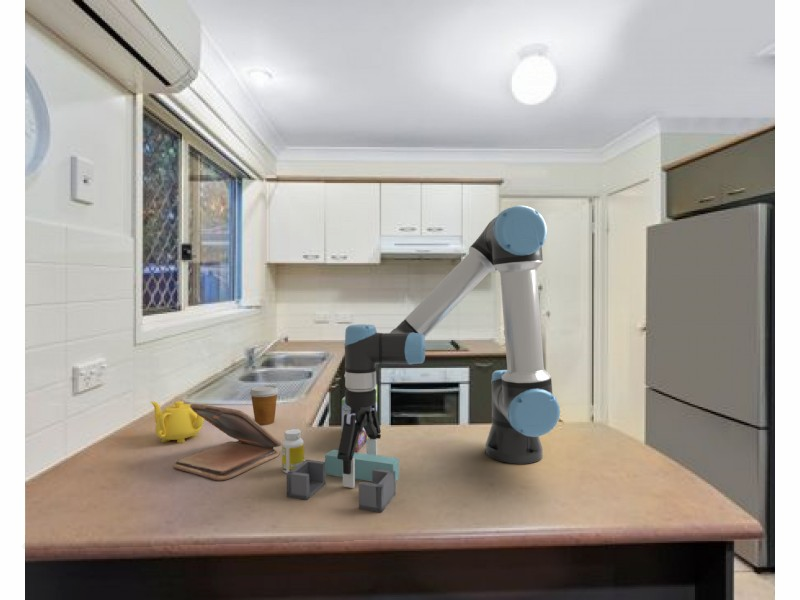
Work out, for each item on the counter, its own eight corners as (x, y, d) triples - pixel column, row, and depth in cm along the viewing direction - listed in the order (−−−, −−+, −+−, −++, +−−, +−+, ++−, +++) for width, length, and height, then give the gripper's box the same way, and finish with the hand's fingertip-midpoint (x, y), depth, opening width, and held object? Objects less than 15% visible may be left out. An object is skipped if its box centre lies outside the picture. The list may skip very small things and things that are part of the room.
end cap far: (325, 483, 103) (325, 461, 103) (306, 500, 95) (306, 476, 95) (306, 481, 105) (306, 459, 104) (286, 496, 97) (286, 473, 97)
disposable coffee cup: (284, 421, 154) (284, 386, 153) (263, 428, 145) (262, 392, 145) (266, 417, 159) (265, 384, 158) (244, 423, 151) (243, 389, 150)
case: (285, 454, 122) (284, 397, 122) (223, 484, 104) (221, 416, 104) (233, 444, 132) (232, 391, 132) (168, 469, 113) (166, 407, 113)
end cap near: (359, 508, 91) (358, 484, 91) (374, 491, 99) (374, 468, 99) (381, 512, 89) (381, 487, 89) (395, 494, 97) (395, 471, 97)
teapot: (130, 445, 130) (129, 407, 130) (167, 430, 145) (166, 395, 144) (189, 450, 126) (188, 410, 126) (221, 433, 140) (220, 398, 140)
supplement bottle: (308, 467, 113) (307, 429, 113) (296, 475, 108) (296, 435, 108) (290, 464, 115) (289, 427, 115) (277, 472, 110) (277, 433, 109)
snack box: (359, 453, 123) (359, 399, 122) (340, 451, 124) (339, 398, 124) (378, 429, 143) (377, 383, 143) (361, 428, 145) (361, 382, 144)
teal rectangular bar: (399, 478, 106) (398, 458, 106) (393, 485, 102) (393, 464, 102) (333, 468, 112) (332, 449, 112) (325, 475, 109) (324, 455, 108)
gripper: (366, 377, 120) (367, 454, 120) (321, 399, 96) (322, 494, 97) (392, 379, 117) (392, 458, 118) (352, 401, 94) (353, 500, 94)
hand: (360, 474), depth 107 cm, fingers open, 13 cm apart
